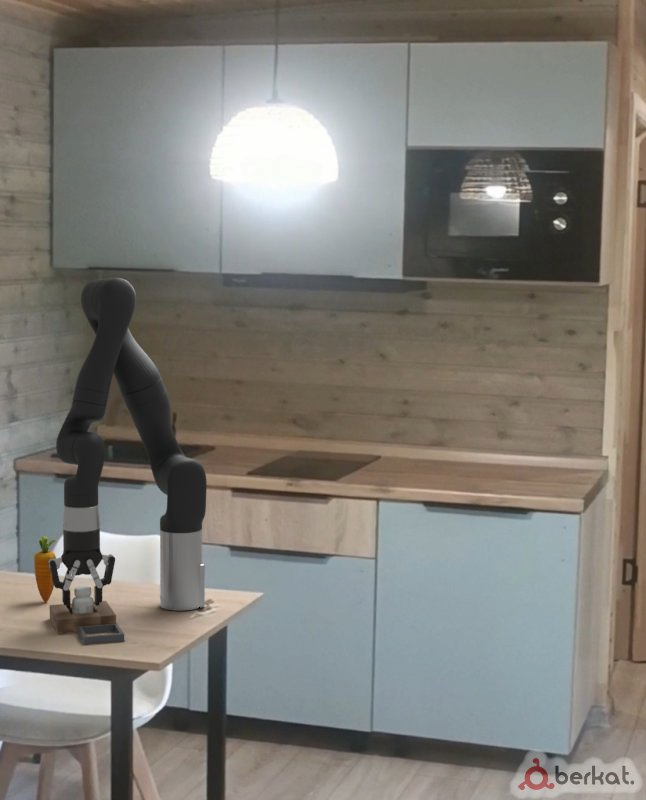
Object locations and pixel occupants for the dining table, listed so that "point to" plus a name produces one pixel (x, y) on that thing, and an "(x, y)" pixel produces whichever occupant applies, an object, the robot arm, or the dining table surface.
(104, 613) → the socket block
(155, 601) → the dining table surface
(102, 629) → the tray
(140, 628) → the dining table surface
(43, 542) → the carrot
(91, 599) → the pill bottle
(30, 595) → the dining table surface
